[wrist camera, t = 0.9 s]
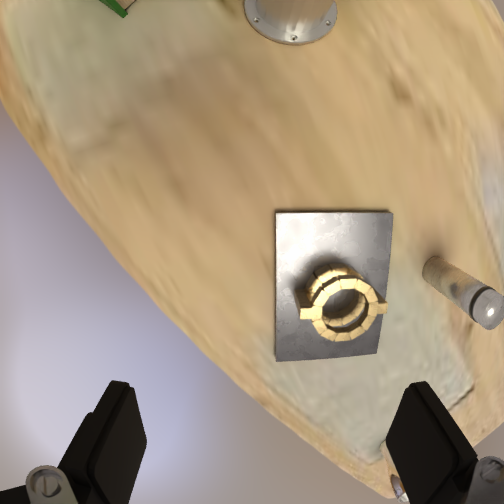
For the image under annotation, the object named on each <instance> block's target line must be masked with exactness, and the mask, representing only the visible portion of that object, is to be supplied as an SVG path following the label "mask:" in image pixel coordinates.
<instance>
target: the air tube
mask: <svg viewBox="0 0 504 504" xmlns="http://www.w3.org/2000/svg"><path fill="white" fill-rule="evenodd" d="M422 274H423V278H424V280H425V281H426V282H427V283H429V284H430V285H431V286H432V287H434V288H435V289H436V290H438V291H439V292H440V293H442V294H443V295H444V296H445V297H447V298H448V299H449V300H451V301H452V302H453V303H454V304H456V305H457V306H458V307H459V308H461V309H462V310H463V311H464V312H466V313H467V314H468V315H469V316H470V317H471V318H472V319H473V320H474V321H475V322H477V323H479V324H480V325H481V326H483V327H484V328H485V329H487V330H491V329H494V328H495V327H497V326H498V325H499V324H500V323H501V321H502V320H503V318H504V296H502V295H501V294H499V293H498V292H496V290H494V289H493V288H491V287H490V286H487V285H485V284H483V283H482V282H480V281H479V280H477V279H475V278H474V277H472V276H470V275H469V274H467V273H466V272H464V271H462V270H461V269H459V268H457V267H455V266H454V265H452V264H450V263H449V262H447V261H445V260H443V259H442V258H440V257H432V258H430V259H429V260H428V261H427V262H426V263H425V265H424V267H423V272H422Z"/></svg>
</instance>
